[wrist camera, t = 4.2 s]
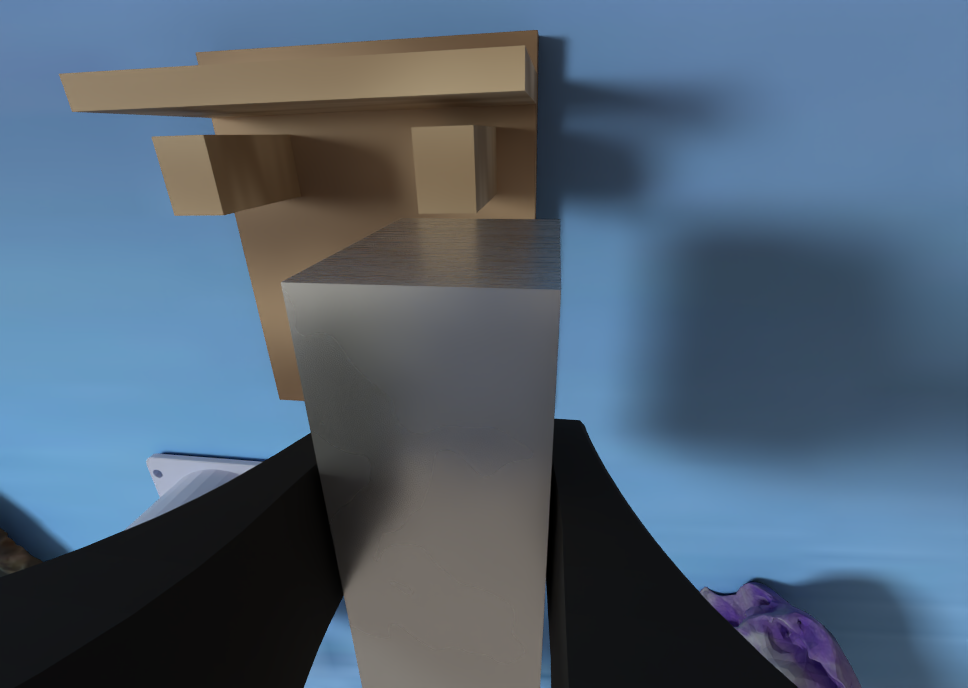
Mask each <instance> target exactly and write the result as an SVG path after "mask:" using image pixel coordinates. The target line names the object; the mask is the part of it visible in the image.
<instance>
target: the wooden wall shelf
mask: <svg viewBox="0 0 968 688" xmlns="http://www.w3.org/2000/svg"><path fill="white" fill-rule="evenodd" d="M538 46H539V35H538V30H530V31H515V32H499V33H484V34H469V35H454V36H439V37H424V38H408V39H393V40H378V41H363V42H348V43H333V44H318V45H302V46H287V47H272V48H257V49H242V50H227V51H211V52H196V56H197V60H198V65H196V66H180V67H164V68H147V69H131V70H115V71H98V72H82V73H66V74H59V75H60V78H61V81H62V84H63V87H64V90H65V93H66V95H67V98H68V101H69V104H70V107H71V110H72V112H90V113H113V114H136V115H159V116H182V117H205V118H212V122H213V126H214V130H215V135H187V136H160V137H152V140H153V143H154V147H155V150H156V154H157V157H158V160H159V164H160V167H161V171H162V174H163V177H164V181H165V184H166V188H167V191H168V194H169V198H170V201H171V205H172V208H173V211H174V215H175V216H188V215H227V214H231V213H235V217H236V221H237V225H238V229H239V233H240V238H241V242H242V246H243V250H244V254H245V258H246V262H247V266H248V271H249V275H250V279H251V283H252V287H253V291H254V295H255V299H256V304H257V308H258V312H259V316H260V320H261V324H262V328H263V332H264V337H265V341H266V345H267V349H268V353H269V357H270V361H271V365H272V369H273V374H274V378H275V382H276V386H277V390H278V394H279V398H280V400H298V401H304V396H303V391H302V386H301V381H300V376H299V371H298V366H297V361H296V356H295V351H294V346H293V341H292V336H291V331H290V326H289V321H288V316H287V312H286V307H285V302H284V297H283V292H282V287H281V282H282V281H284V280H286V279H288V278H290V277H292V276H294V275H295V274H297V273H299V272H301V271H303V270H305V269H307V268H309V267H310V266H312V265H314V264H316V263H318V262H320V261H322V260H324V259H326V258H327V257H329V256H331V255H333V254H335V253H337V252H339V251H341V250H342V249H344V248H346V247H348V246H350V245H352V244H354V243H356V242H357V241H359V240H361V239H363V238H365V237H367V236H369V235H371V234H373V233H374V232H376V231H378V230H380V229H382V228H384V227H386V226H388V225H389V224H391V223H393V222H395V221H397V220H399V219H401V218H446V219H536V177H537V112H538Z"/></svg>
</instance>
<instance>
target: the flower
mask: <svg viewBox="0 0 968 688" xmlns="http://www.w3.org/2000/svg"><path fill="white" fill-rule="evenodd" d="M700 593H701V594H702V595H703V596H704V597H705V599H706V600H707V601H708V602H709V603H710V604H711V605H712V606H713V607H714V608H715V609H716V610H717V611H718V612H719V613H720V614H721V615H722V616H723V617H724V618H725V619H726V620H727V621H728V622H729V623H730V624H731V625H732V626H733V627H734V628H735V629H736V630H737V631H738V632H739V633H740V634H741V635H742V636H743V637H744V638H745V639H746V640H748V641H749V642H750V643H751V644H752V645H753V646H754V647H755V648H756V649H757V650H758V651H759V652H760V653H761V654H762V655H763V656H764V657H765V658H766V659H767V660H768V661H769V662H770V663H772V664H773V665H774V666H775V667H776V668H777V669H778V670H779V671H780V672H782V673H783V674H784V675H785V676H786V677H787V678H788V679H789V680H791V681H792V682H793V683H794V684H795V685H796V686H797V687H798V688H862V687H861V685H860V683H859V681H858V679H857V677H856V675H855V673H854V671H853V669H852V667H851V665H850V663H849V662H848V660H847V658H846V656H845V655H844V653H843V651H842V649H841V648H840V646H839V644H838V642H837V641H836V639H835V638H834V636H833V635H832V634H831V633H830V632H829V631H828V630H827V629H826V628H825V627H824V626H823V625H822V624H821V623H820V622H818V621H817V620H816V619H815V618H813V617H812V616H811V615H809V614H808V613H806V612H804V611H802V610H800V609H798V608H796V607H793V606H791V605H790V604H789V603H788V602H787V601H786V600H785V599H783V598H782V597H781V596H780V595H778V594H777V593H776V592H774V591H773V590H772V589H771V588H769V587H768V586H766V585H764V584H763V583H758V582H751V583H747V584H744V585H743V586H742V587H740V588H739V590H738V592H737V594H736V595H728V596H721V595H717V594H715V593H714V592H712V591H711V590H709V589H708V587H704V588H703V589H702V590H701V591H700Z"/></svg>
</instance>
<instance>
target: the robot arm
mask: <svg viewBox="0 0 968 688" xmlns="http://www.w3.org/2000/svg"><path fill="white" fill-rule="evenodd" d="M146 462H147V466H148V469H149V471H150V474H151V476H152V479H153V481H154V484H155V486H156V489H157V491H158V494H159V496H160V498H159V499H158V500H157V501H156V502H155V503H154V504H153V505H152V506H151V507H149V508H148V509H147V510H146V511H145V512H144V513H143V514H142V515H141V516H139V517H138V518H137V519H136V520H135V521H134V522H133V523H132V524H131V525H130V526H128V527H127V528H126V529H125V530H124V531H122V532H120V533H117V534H115V535H112V536H110V537H108V538H105V539H103V540H100V541H98V542H95V543H93V544H91V545H88V546H86V547H83V548H81V549H78V550H75V551H73V552H70V553H67V554H64V555H62V556H59V557H56V558H54V559H51V560H48V561H45V562H43V563H40V564H37V565H34V566H31V567H28V568H25V569H23V570H20V571H17V572H14V573H11V574H8V575H5V576H2V577H0V688H304V685H305V683H306V680H307V677H308V675H309V672H310V669H311V667H312V664H313V662H314V659H315V656H316V654H317V651H318V649H319V646H320V644H321V642H322V640H323V637H324V635H325V633H326V631H327V628H328V626H329V624H330V622H331V620H332V618H333V616H334V614H335V612H336V610H337V608H338V606H339V604H340V602H341V600H342V598H343V596H344V594H343V589H342V584H341V579H340V574H339V569H338V564H337V559H336V554H335V549H334V544H333V539H332V534H331V529H330V524H329V519H328V514H327V509H326V505H325V500H324V495H323V490H322V485H321V480H320V475H319V470H318V465H317V460H316V455H315V450H314V445H313V440H312V435H311V433H310V434H308V435H306V436H305V437H303V438H302V439H300V440H298V441H297V442H295V443H293V444H292V445H290V446H289V447H287V448H285V449H284V450H282V451H281V452H279V453H277V454H276V455H274V456H272V457H270V458H269V459H267V460H265V461H263V462H258V461H246V460H233V459H220V458H207V457H195V456H182V455H169V454H153V455H152V456H151V457H149V458H148V459H147V461H146ZM546 586H547V603H548V619H549V636H550V653H551V688H798V687H797V686H796V685H795V684H794V683H793V682H792V681H791V680H789V679H788V678H787V677H786V676H785V675H784V674H783V673H782V672H780V671H779V670H778V669H777V668H776V667H775V666H774V665H773V664H772V663H770V662H769V661H768V660H767V659H766V658H765V657H764V656H763V655H762V654H761V653H760V652H759V651H758V650H757V649H756V648H755V647H754V646H753V645H752V644H751V643H750V642H749V641H748V640H746V639H745V638H744V637H743V636H742V635H741V634H740V633H739V632H738V631H737V630H736V629H735V628H734V627H733V626H732V625H731V624H730V623H729V622H728V621H727V620H726V619H725V618H724V617H723V616H722V615H721V614H720V613H719V612H718V611H717V610H716V609H715V608H714V607H713V606H712V605H711V604H710V603H709V602H708V601H707V600H706V599H705V597H704V596H703V595H702V594H701V593H700V592H699V591H698V590H697V589H696V588H695V587H694V585H693V584H692V583H691V582H690V581H689V580H688V579H687V578H686V577H685V576H684V574H683V573H682V572H681V571H680V570H679V569H678V567H677V566H676V565H675V564H674V563H673V561H672V560H671V559H670V558H669V557H668V556H667V554H666V553H665V552H664V551H663V550H662V548H661V547H660V546H659V545H658V543H657V542H656V541H655V540H654V538H653V537H652V536H651V534H650V533H649V532H648V530H647V529H646V528H645V526H644V525H643V524H642V522H641V521H640V520H639V518H638V517H637V515H636V514H635V513H634V511H633V510H632V509H631V507H630V506H629V504H628V503H627V501H626V500H625V498H624V497H623V495H622V494H621V492H620V491H619V489H618V487H617V486H616V484H615V483H614V481H613V479H612V478H611V476H610V475H609V473H608V471H607V470H606V468H605V466H604V465H603V463H602V461H601V459H600V457H599V455H598V454H597V452H596V450H595V448H594V446H593V444H592V442H591V440H590V438H589V435H588V433H587V431H586V428H585V426H584V424H583V423H582V422H581V421H580V420H567V419H554V432H553V450H552V469H551V488H550V507H549V526H548V545H547V564H546Z"/></svg>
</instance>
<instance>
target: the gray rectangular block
mask: <svg viewBox="0 0 968 688" xmlns="http://www.w3.org/2000/svg"><path fill="white" fill-rule="evenodd" d="M281 287H282V292H283V297H284V302H285V307H286V312H287V316H288V321H289V326H290V331H291V336H292V341H293V346H294V351H295V356H296V361H297V366H298V371H299V376H300V381H301V386H302V391H303V396H304V401H305V406H306V411H307V415H308V420H309V425H310V430H311V435H312V440H313V445H314V450H315V455H316V460H317V465H318V470H319V475H320V480H321V485H322V490H323V495H324V500H325V505H326V509H327V514H328V519H329V524H330V529H331V534H332V539H333V544H334V549H335V554H336V559H337V564H338V569H339V574H340V579H341V584H342V589H343V594H344V599H345V603H346V608H347V613H348V618H349V623H350V628H351V633H352V638H353V643H354V648H355V653H356V658H357V663H358V668H359V673H360V678H361V683H362V688H540V677H541V658H542V639H543V620H544V601H545V583H546V564H547V545H548V526H549V507H550V488H551V469H552V450H553V432H554V413H555V394H556V375H557V356H558V337H559V318H560V299H561V260H560V219H446V218H401V219H399V220H397V221H395V222H393V223H391V224H389V225H388V226H386V227H384V228H382V229H380V230H378V231H376V232H374V233H373V234H371V235H369V236H367V237H365V238H363V239H361V240H359V241H357V242H356V243H354V244H352V245H350V246H348V247H346V248H344V249H342V250H341V251H339V252H337V253H335V254H333V255H331V256H329V257H327V258H326V259H324V260H322V261H320V262H318V263H316V264H314V265H312V266H310V267H309V268H307V269H305V270H303V271H301V272H299V273H297V274H295V275H294V276H292V277H290V278H288V279H286V280H284V281H282V282H281Z"/></svg>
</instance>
